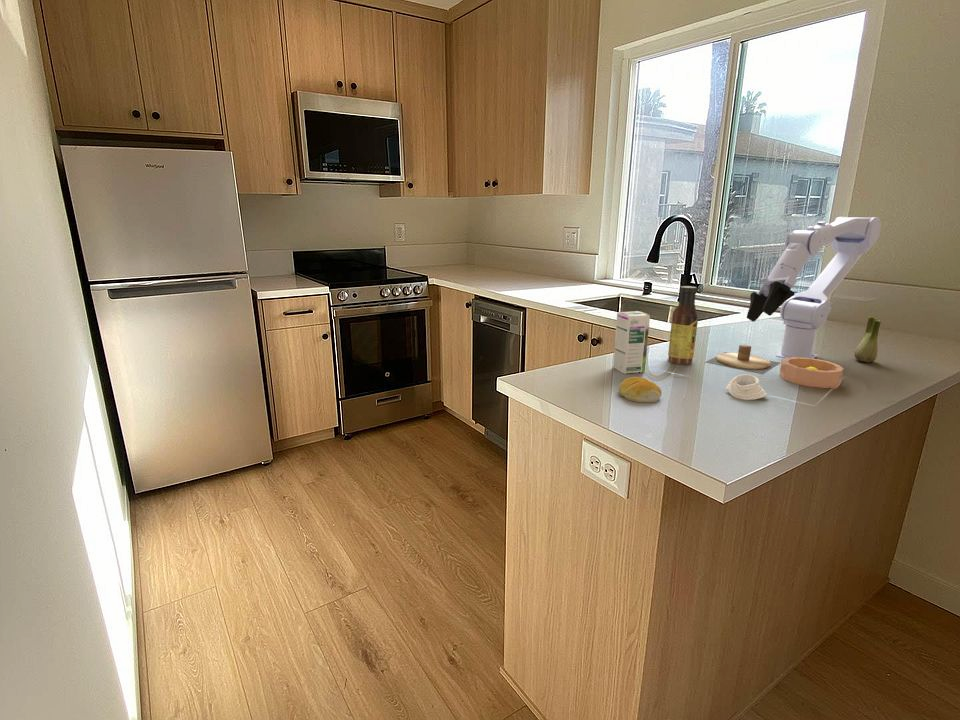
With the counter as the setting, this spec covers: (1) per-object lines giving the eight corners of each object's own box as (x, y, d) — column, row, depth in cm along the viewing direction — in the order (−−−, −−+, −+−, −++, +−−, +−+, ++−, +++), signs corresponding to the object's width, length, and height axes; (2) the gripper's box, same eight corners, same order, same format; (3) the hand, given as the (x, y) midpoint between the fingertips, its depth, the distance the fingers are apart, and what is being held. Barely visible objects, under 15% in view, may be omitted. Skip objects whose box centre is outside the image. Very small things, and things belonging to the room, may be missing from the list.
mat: (725, 353, 146) (725, 352, 146) (780, 364, 137) (780, 362, 137) (704, 363, 137) (705, 361, 136) (762, 375, 127) (762, 373, 127)
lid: (726, 353, 145) (729, 337, 144) (776, 362, 137) (779, 346, 135) (708, 362, 136) (711, 345, 135) (760, 372, 128) (763, 355, 127)
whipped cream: (769, 401, 113) (775, 379, 112) (758, 405, 109) (764, 383, 107) (732, 389, 119) (737, 368, 118) (720, 393, 114) (725, 372, 113)
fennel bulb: (873, 365, 137) (883, 320, 134) (850, 361, 140) (860, 317, 137) (876, 360, 141) (887, 317, 138) (855, 357, 144) (864, 314, 141)
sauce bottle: (694, 366, 134) (704, 289, 128) (669, 365, 135) (678, 288, 129) (690, 359, 140) (699, 285, 134) (665, 358, 141) (674, 284, 135)
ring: (788, 369, 132) (791, 354, 131) (844, 380, 124) (847, 364, 123) (773, 380, 124) (776, 364, 123) (832, 392, 116) (836, 375, 115)
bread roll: (644, 388, 118) (646, 371, 117) (666, 402, 109) (668, 384, 108) (610, 390, 116) (612, 373, 115) (630, 405, 108) (632, 386, 107)
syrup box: (624, 374, 127) (629, 315, 123) (612, 367, 132) (617, 310, 128) (645, 372, 128) (651, 314, 124) (632, 365, 134) (637, 310, 130)
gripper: (756, 271, 138) (730, 313, 137) (788, 253, 123) (759, 300, 122) (780, 285, 137) (754, 328, 136) (814, 269, 123) (785, 317, 122)
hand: (758, 316), depth 129 cm, fingers open, 7 cm apart
